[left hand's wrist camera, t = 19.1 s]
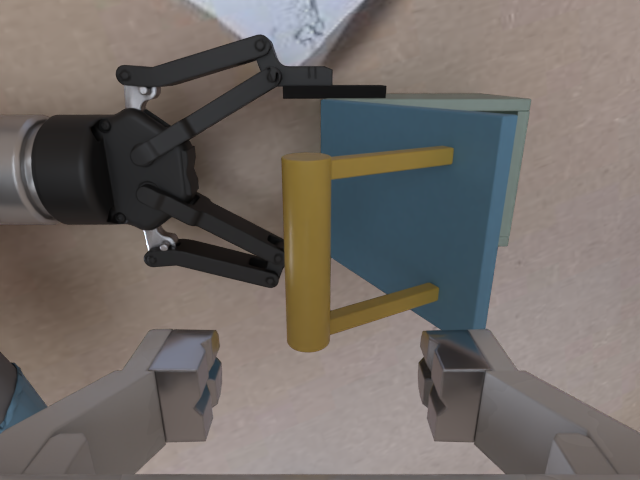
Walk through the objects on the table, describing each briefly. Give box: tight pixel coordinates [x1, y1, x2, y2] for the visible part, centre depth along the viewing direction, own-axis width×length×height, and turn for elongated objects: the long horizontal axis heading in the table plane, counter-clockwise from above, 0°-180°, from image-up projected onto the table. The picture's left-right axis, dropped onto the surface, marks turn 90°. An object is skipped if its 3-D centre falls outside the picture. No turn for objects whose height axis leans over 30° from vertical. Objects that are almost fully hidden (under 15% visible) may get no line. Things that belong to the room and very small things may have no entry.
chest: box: [326, 94, 531, 246], centre depth 33 cm, size 13×10×9 cm
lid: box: [281, 99, 518, 352], centre depth 21 cm, size 13×10×8 cm
